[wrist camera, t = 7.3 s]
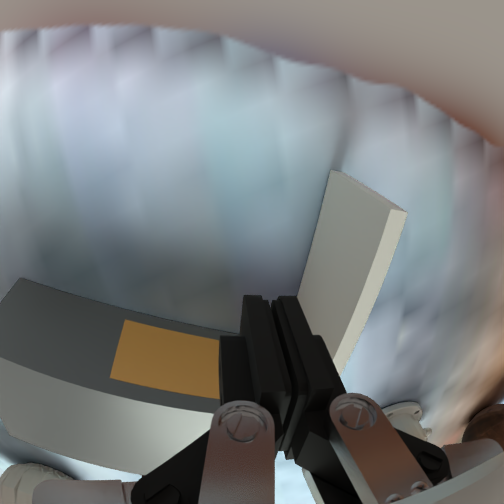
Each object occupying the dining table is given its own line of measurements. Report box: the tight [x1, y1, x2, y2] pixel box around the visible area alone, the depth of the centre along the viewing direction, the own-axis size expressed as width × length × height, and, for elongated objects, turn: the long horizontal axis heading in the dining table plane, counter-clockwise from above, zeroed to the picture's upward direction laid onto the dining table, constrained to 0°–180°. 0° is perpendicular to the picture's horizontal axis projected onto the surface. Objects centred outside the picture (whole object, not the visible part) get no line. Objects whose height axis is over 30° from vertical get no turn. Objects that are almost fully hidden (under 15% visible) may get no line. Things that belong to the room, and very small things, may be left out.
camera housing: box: [0, 278, 240, 475], centre depth 21 cm, size 24×12×9 cm, turn 70°
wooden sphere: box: [462, 404, 504, 452], centre depth 39 cm, size 15×15×15 cm
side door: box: [297, 170, 408, 376], centre depth 19 cm, size 14×2×7 cm, turn 170°
